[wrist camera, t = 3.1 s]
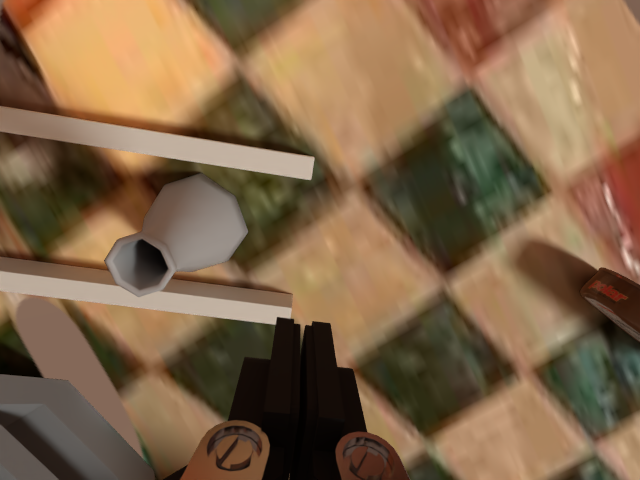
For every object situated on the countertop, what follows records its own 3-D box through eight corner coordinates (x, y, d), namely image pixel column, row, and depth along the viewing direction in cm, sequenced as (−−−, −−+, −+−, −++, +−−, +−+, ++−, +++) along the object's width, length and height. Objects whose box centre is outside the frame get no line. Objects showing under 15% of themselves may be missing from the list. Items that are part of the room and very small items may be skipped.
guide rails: (313, 156, 26) (314, 157, 24) (290, 311, 29) (288, 326, 27) (-36, 99, 24) (-74, 94, 22) (-22, 272, 27) (-54, 284, 25)
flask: (265, 233, 27) (244, 280, 18) (192, 285, 28) (135, 357, 19) (204, 154, 26) (144, 159, 16) (128, 212, 27) (29, 250, 17)
